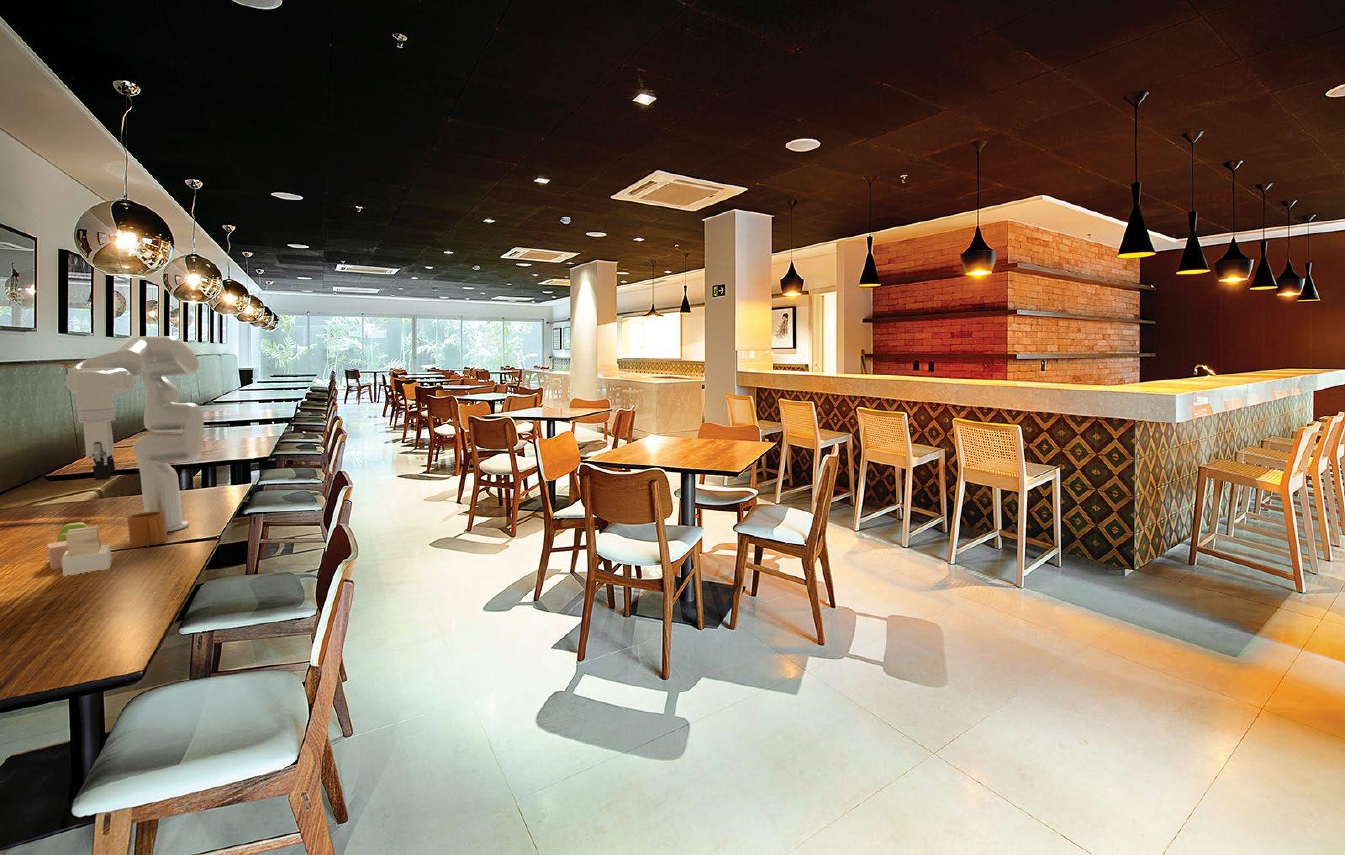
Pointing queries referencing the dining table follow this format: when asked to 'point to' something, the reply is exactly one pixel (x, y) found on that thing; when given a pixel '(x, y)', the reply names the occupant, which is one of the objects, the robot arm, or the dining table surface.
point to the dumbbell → (64, 530)
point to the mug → (147, 529)
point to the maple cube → (83, 541)
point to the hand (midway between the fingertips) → (105, 476)
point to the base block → (87, 561)
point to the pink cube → (56, 553)
